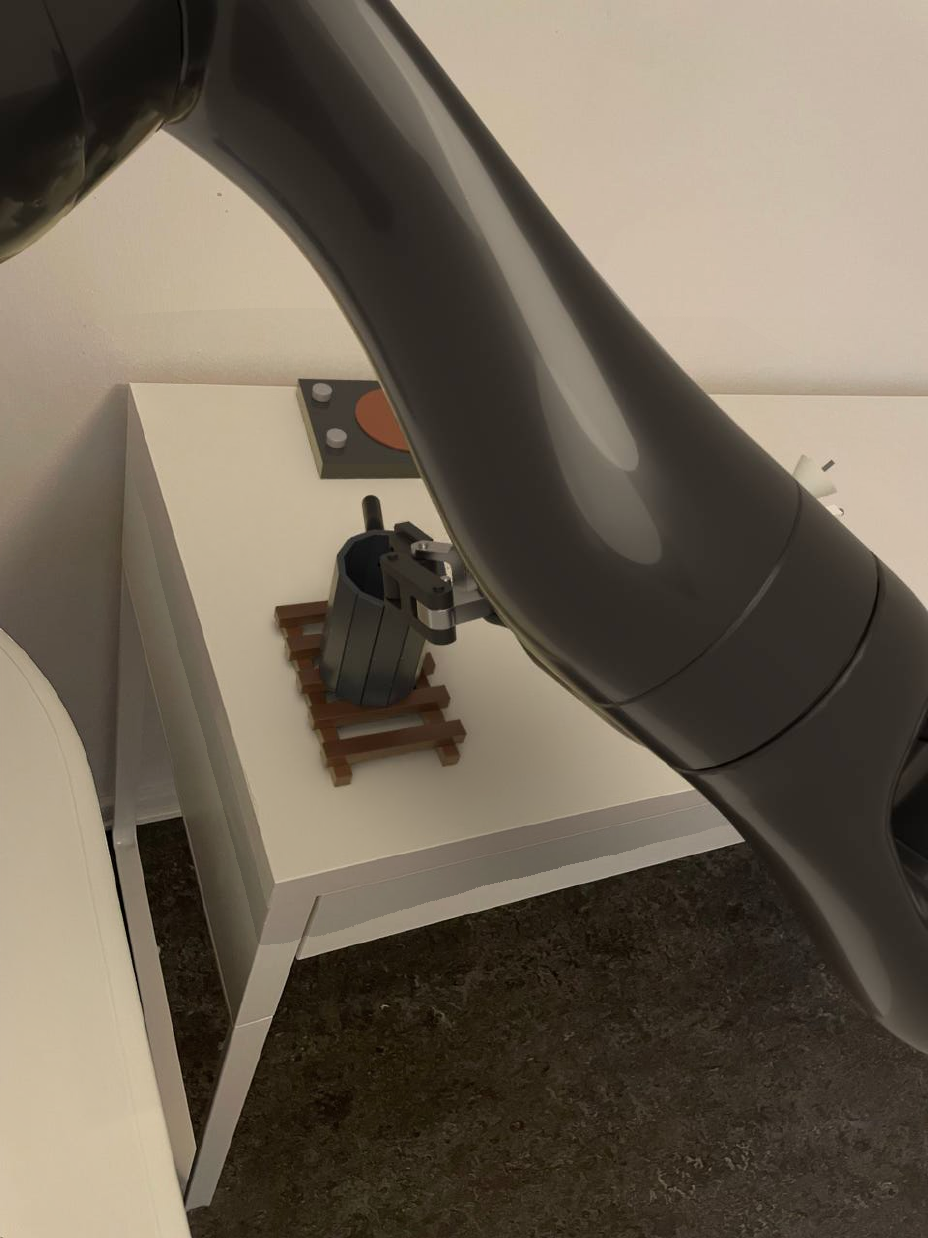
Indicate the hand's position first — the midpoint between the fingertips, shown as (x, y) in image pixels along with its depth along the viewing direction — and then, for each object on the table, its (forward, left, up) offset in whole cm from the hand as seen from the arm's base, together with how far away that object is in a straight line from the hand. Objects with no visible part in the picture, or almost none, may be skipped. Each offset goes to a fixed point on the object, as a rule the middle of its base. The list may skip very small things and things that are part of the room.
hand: (475, 524), depth 55 cm
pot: (-6, +1, -15) cm, 16 cm away
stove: (-21, +21, -17) cm, 34 cm away
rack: (-4, -1, -17) cm, 17 cm away
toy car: (+7, +29, -17) cm, 34 cm away
